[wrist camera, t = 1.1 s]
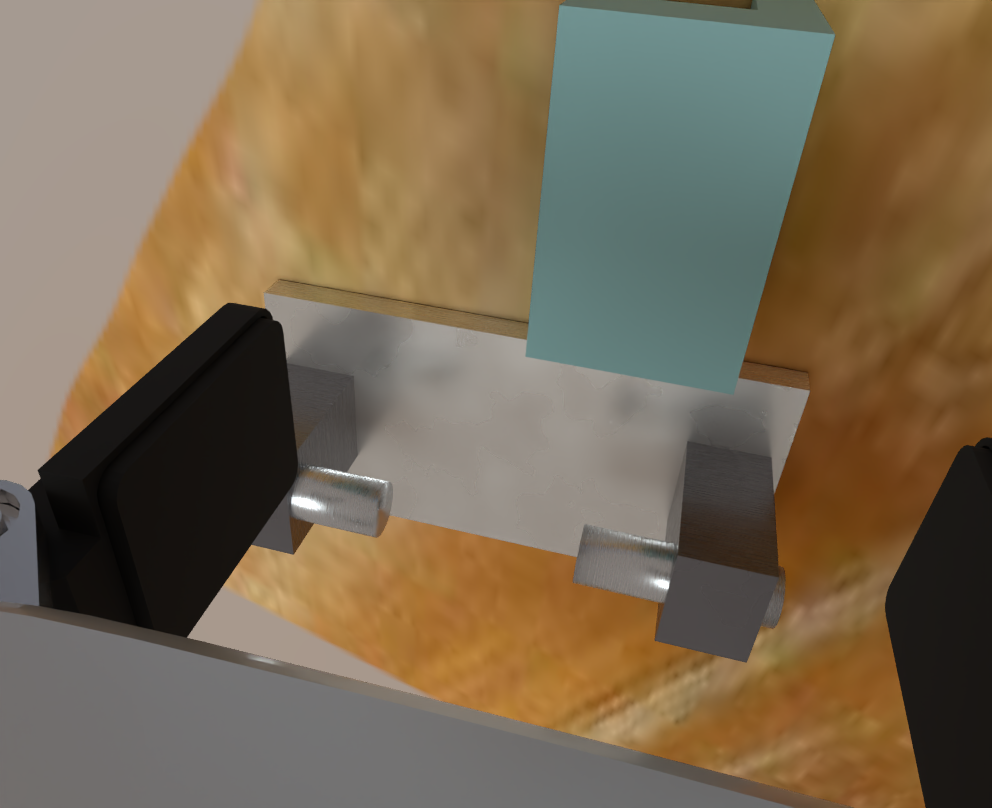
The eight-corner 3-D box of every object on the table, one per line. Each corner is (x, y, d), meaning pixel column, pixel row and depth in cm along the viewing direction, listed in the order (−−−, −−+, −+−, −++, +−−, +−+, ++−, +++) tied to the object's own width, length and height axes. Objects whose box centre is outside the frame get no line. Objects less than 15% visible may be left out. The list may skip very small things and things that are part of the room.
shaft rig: (739, 572, 33) (740, 720, 27) (299, 475, 36) (217, 589, 31) (807, 372, 27) (826, 506, 22) (278, 279, 31) (172, 373, 25)
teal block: (811, -5, 21) (835, 34, 16) (733, 292, 27) (733, 395, 21) (600, -26, 22) (559, 4, 17) (565, 264, 28) (525, 356, 22)
